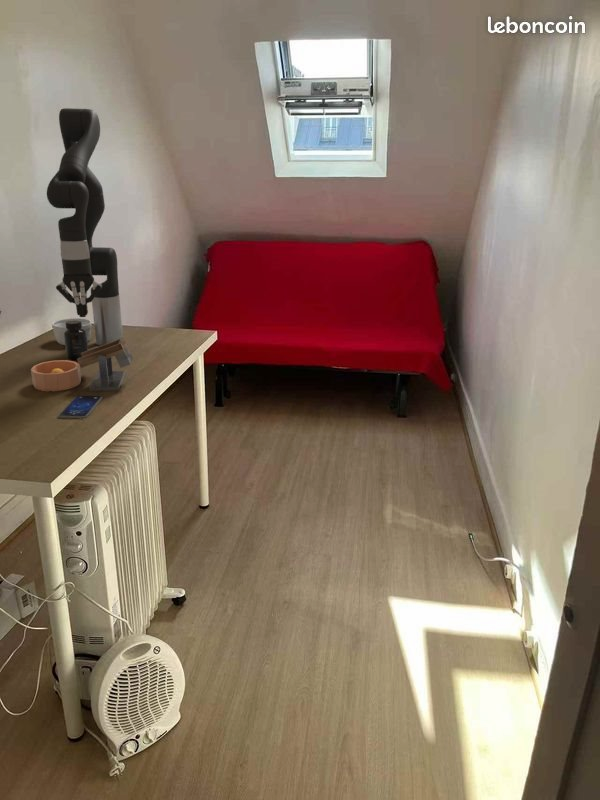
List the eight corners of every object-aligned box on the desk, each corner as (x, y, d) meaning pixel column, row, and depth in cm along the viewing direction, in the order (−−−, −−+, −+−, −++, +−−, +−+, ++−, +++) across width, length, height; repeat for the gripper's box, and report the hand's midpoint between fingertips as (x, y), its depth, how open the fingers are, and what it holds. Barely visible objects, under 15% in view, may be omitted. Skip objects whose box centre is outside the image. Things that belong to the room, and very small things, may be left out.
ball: (66, 367, 174) (66, 380, 175) (52, 365, 173) (51, 378, 174) (63, 371, 170) (63, 384, 171) (48, 370, 169) (48, 383, 171)
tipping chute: (96, 364, 184) (86, 344, 182) (135, 349, 184) (126, 330, 182) (87, 380, 170) (76, 360, 168) (130, 364, 171) (120, 344, 168)
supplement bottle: (92, 355, 199) (88, 319, 195) (83, 361, 193) (79, 325, 188) (72, 354, 200) (68, 319, 195) (63, 360, 193) (58, 324, 189)
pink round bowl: (40, 377, 178) (37, 360, 176) (84, 375, 180) (82, 359, 178) (28, 392, 166) (26, 374, 164) (76, 390, 168) (73, 373, 166)
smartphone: (103, 395, 164) (86, 417, 150) (104, 398, 164) (86, 420, 150) (76, 394, 164) (56, 416, 150) (77, 397, 164) (56, 419, 150)
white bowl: (101, 340, 216) (99, 321, 213) (70, 348, 205) (68, 329, 203) (77, 334, 222) (74, 316, 220) (46, 342, 212) (43, 323, 209)
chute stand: (97, 374, 181) (94, 344, 177) (124, 374, 182) (121, 343, 179) (89, 391, 168) (85, 358, 165) (118, 390, 169) (115, 357, 166)
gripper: (102, 254, 173) (108, 313, 179) (54, 254, 171) (62, 313, 177) (97, 258, 166) (104, 319, 173) (47, 258, 164) (56, 320, 171)
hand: (82, 316), depth 175 cm, fingers closed
